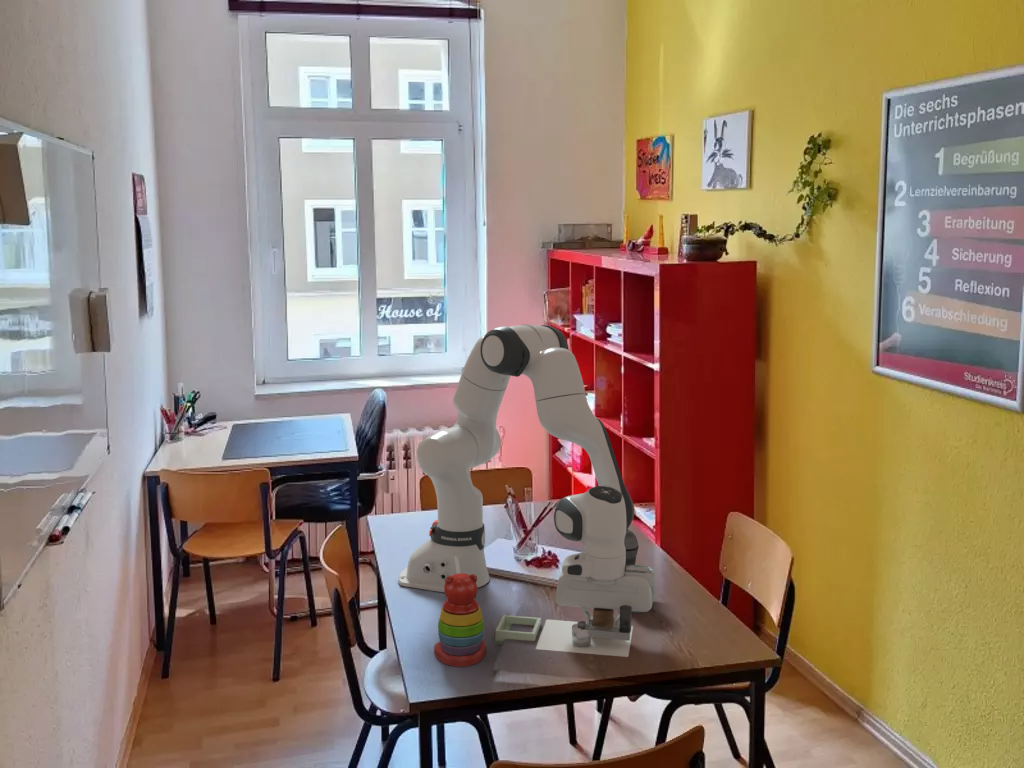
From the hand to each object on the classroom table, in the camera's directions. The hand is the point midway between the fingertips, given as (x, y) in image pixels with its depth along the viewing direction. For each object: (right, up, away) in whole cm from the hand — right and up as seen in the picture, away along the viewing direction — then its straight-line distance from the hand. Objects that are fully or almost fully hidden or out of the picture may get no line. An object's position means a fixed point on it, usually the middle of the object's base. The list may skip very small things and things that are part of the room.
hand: (603, 626), depth 206 cm
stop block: (0, -2, 0) cm, 2 cm away
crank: (-1, -2, -5) cm, 6 cm away
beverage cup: (+7, +1, +28) cm, 29 cm away
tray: (-18, -3, +2) cm, 18 cm away
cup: (+9, -1, +15) cm, 18 cm away
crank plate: (-4, -4, -1) cm, 5 cm away
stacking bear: (-30, -5, -6) cm, 31 cm away
